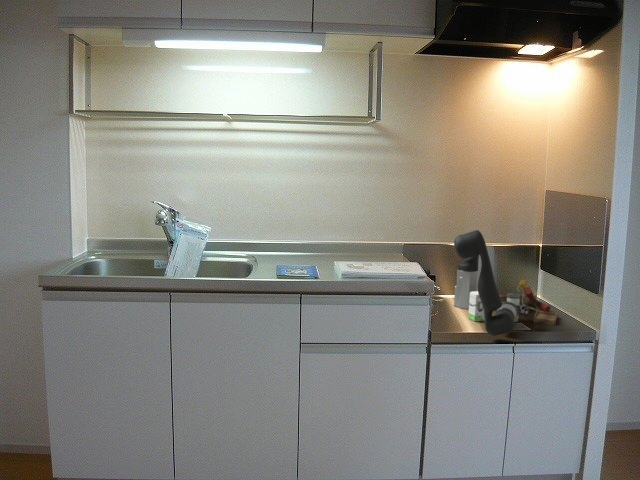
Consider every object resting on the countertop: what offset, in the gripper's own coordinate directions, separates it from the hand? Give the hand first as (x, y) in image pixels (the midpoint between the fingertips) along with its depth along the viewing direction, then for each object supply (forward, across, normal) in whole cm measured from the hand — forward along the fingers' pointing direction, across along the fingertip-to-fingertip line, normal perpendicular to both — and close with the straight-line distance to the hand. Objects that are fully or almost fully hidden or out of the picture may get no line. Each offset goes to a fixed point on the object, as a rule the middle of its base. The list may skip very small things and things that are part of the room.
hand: (513, 304), depth 228 cm
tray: (+6, -12, +6) cm, 15 cm away
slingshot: (+21, -4, +7) cm, 23 cm away
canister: (-2, 0, +6) cm, 7 cm away
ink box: (-8, +12, +7) cm, 16 cm away
